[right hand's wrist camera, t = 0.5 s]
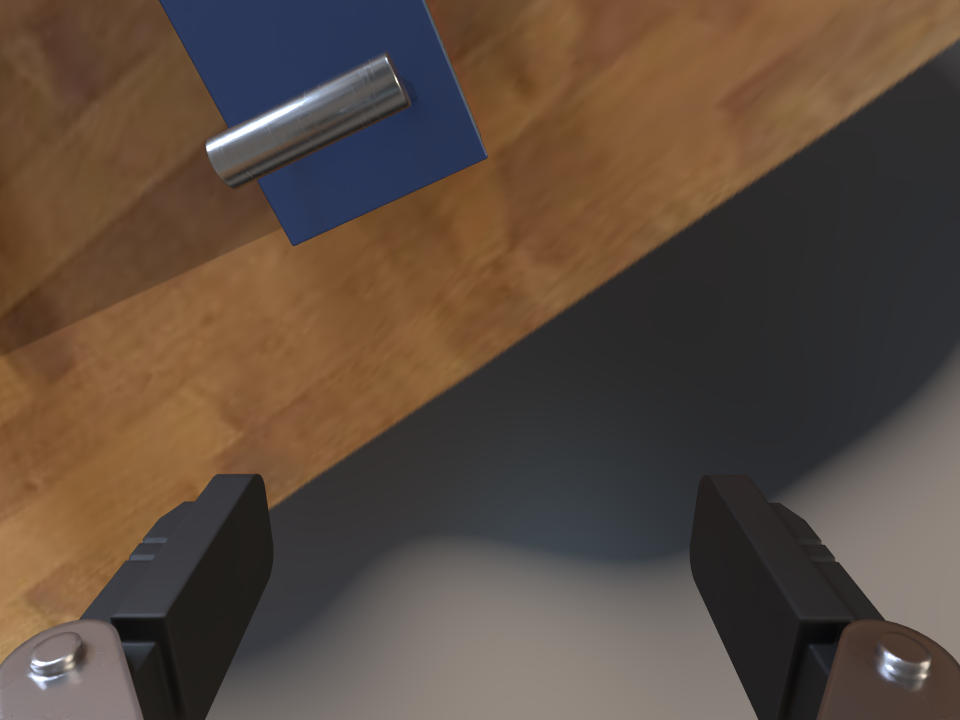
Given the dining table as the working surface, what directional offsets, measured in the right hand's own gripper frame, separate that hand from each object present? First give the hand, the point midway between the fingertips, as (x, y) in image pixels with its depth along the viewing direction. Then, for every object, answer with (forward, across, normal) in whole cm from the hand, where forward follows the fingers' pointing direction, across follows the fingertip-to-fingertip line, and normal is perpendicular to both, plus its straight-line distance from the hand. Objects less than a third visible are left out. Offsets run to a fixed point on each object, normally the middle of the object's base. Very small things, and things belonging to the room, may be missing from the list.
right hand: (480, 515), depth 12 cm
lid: (+18, +7, -11) cm, 22 cm away
